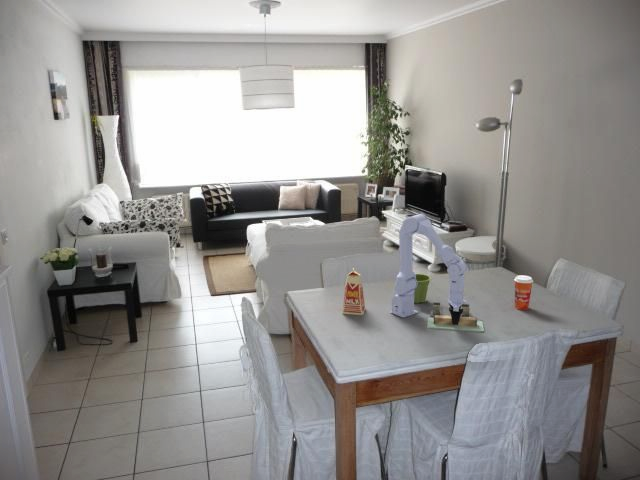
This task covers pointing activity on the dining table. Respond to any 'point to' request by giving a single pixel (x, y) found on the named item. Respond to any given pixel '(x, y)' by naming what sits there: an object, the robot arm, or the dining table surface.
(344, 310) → the milk carton
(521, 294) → the paper cup
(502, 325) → the dining table surface
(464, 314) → the standards
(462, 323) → the rail
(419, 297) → the plant pot
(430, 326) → the mat
